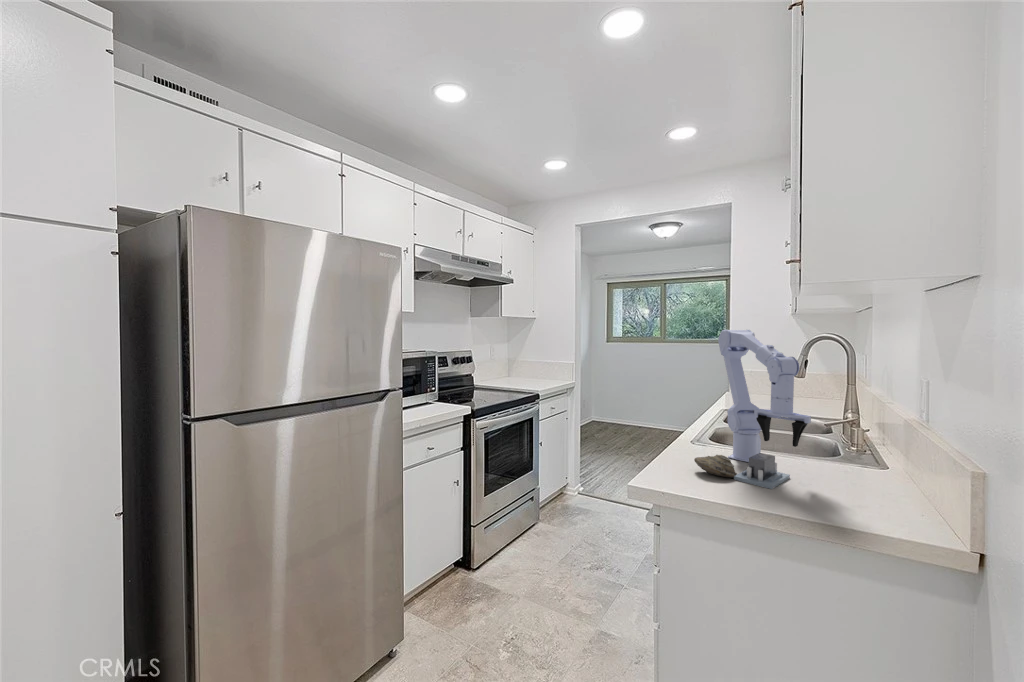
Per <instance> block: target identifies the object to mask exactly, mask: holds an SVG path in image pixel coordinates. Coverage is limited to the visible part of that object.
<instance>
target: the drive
mask: <svg viewBox="0 0 1024 682" xmlns="http://www.w3.org/2000/svg"><path fill="white" fill-rule="evenodd" d="M775 462H776V456H775V455H771V454H768V453H767V454H766V453H763V452H761V453H758V454H756V455H754V456H752V457H750V458H749V462H748V467H751V468H752V476H751V477H752V478H756V479H758V470H763V480H766V479H768V478H769V477H771V476H773V475H775Z"/></svg>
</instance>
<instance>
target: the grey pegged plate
mask: <svg viewBox="0 0 1024 682" xmlns="http://www.w3.org/2000/svg"><path fill="white" fill-rule="evenodd" d="M790 475H791V474H790V473H789V474H788V473H785V472H779V471H778V462H776V461H775V475H773V476H771V477H769V478H768V479H766V480H763V470H758V479H756V478H752V477H751V476H752V468H751V467H749V466H747V467H746V469H745V470H743V471H741V472H739V473H737V475H735V476H734V477H733V480H735V481H738V482H742V483H745V484H750V485H754V486H758V487H761V488H766V489H769V490H773V489H775V488H776V487H778V486H779V485H781V484H782V483H785V482H786V481H787V480H788V479H790V478H791V477H790Z"/></svg>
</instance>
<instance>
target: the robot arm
mask: <svg viewBox="0 0 1024 682" xmlns="http://www.w3.org/2000/svg"><path fill="white" fill-rule="evenodd" d="M717 342H718V346H719V352H720V354H721V356H723V360H724V365H725V370H726V374H727V379H728V382H729V383H728V384H729V388H730V392H731V393H730V394H731V397H732V403H733V404H732V405H731V406H730V407H729V408H728V410H726V412H727V426H728V427H729V429H730V431H731V432H733V433H732V435H733V437H732V440H733V441H732V454H731V455H728V456H727V458H728V459H732V460H737V461H741V462H746V463H749V458H750V457H752V456H754V455H756V454H758V453H762V452H761V449H762V448H761V447H762V445H761V444H762V440H761V438H762V437H763V441H764V442H768V441H770V438H771V437H770V436H771V435H770V433H771V431H770V430H771V422H772V418H773V419H780V420H786V421H793V422H791V428H792V447H795V448H796V447H799V442H800V439H801V436H802V434H803V432H804V430H805V429H806V427H807V426H808V424H811V422H812V416H811V415H807V414H801V413H796V412H794V391H795V389H794V388H795V386H794V385H795V383H794V382H795V377H796V376H797V375H798V373H799V371H800V363H799V361H798V359H797V358H796V357H794V356H786V355H784V353H783V352H780V351H779V350H777V349H776V348H775V346H774V345H773V344H763V343H762V342H761V341H760V340H759V339H758V338H756V334H755V332H753V331H752V330H750V329H722V330H721V331H720V332H719V336H718V339H717ZM749 350H750V351H751V352H752V353H754V354H755V359H756V360H757V361H758V362H760V363H761V364H762V365H764V366H765V367H766V370H767V373H768V376H769V377H768V378H769V382H770V409H766V408H760V407H758V406H757V405H755V404H754V403H753V402H752V401H751V398H750V394H749V389H748V384H747V381H746V377H745V375H746V374H745V372H744V367H743V362H742V357H744V356H746V355H747V354H748V352H749ZM760 432H762V437H761V436H760Z"/></svg>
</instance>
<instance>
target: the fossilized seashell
mask: <svg viewBox="0 0 1024 682" xmlns="http://www.w3.org/2000/svg"><path fill="white" fill-rule="evenodd" d="M694 463H695V464H696V465H697V466H698V467H699V468H700V469H702V470H703V471H705V472H706V473H708V474H709V475H714V476H718V477H723V478H734V476H735V475H737V474H738V473H737V472H736V470H735V466H734V464H733V463H732V461H731V458H728V456H725V455H723V454H716V455H711V456H710V455H707V456H701V457H699V456H698V457H694Z"/></svg>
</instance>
